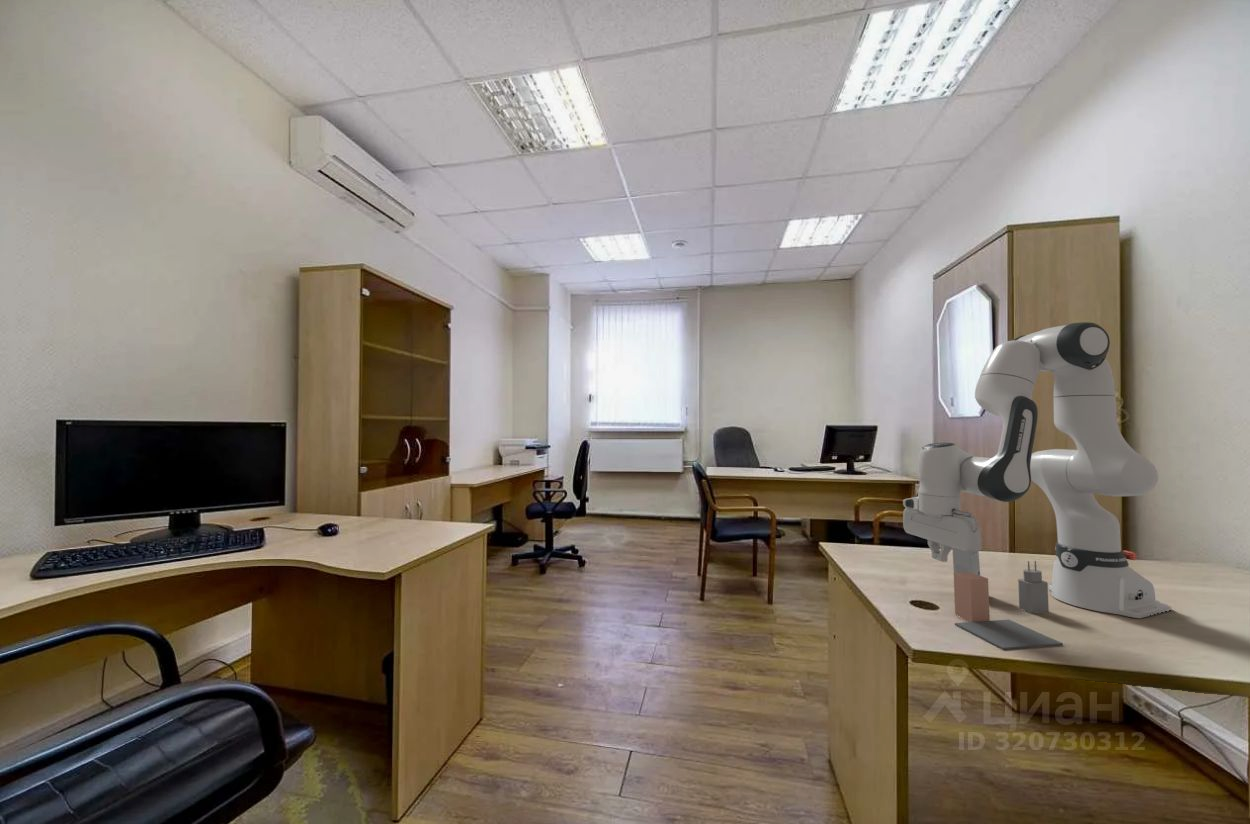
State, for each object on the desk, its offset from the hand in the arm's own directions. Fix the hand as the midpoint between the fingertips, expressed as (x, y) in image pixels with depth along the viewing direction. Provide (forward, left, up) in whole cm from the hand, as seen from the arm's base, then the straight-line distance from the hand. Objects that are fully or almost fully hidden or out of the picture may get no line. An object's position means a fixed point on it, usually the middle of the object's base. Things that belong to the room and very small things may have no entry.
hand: (939, 560), depth 109 cm
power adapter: (-20, +6, -11) cm, 23 cm away
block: (-1, +8, -11) cm, 14 cm away
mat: (-1, +16, -11) cm, 20 cm away
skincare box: (-14, -6, -11) cm, 19 cm away
